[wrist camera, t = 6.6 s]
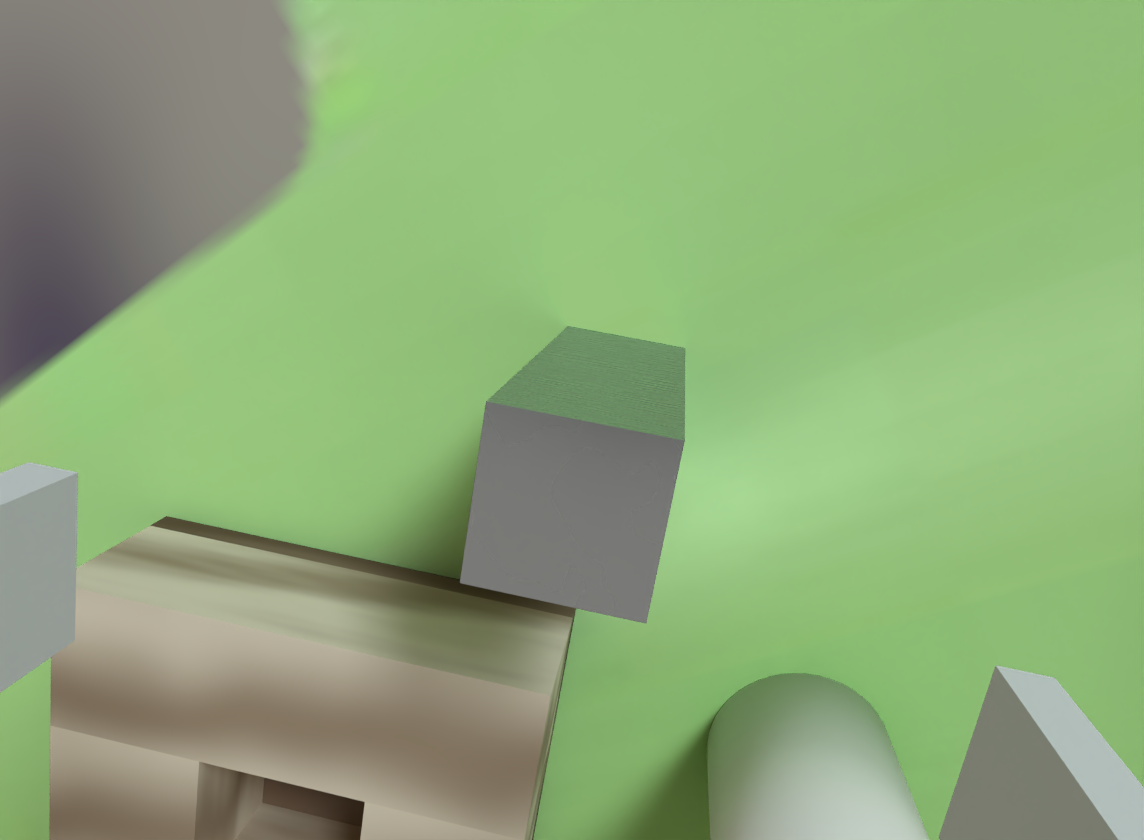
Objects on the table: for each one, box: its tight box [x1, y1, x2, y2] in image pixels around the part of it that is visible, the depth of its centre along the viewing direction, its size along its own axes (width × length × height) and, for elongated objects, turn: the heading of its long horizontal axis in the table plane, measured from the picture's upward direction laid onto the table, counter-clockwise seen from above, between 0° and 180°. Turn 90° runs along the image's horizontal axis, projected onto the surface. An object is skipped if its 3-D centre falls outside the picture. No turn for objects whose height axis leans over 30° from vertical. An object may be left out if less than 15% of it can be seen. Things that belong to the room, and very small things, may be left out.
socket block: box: [49, 516, 576, 840], centre depth 30 cm, size 16×16×6 cm
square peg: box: [460, 326, 685, 623], centre depth 23 cm, size 4×4×12 cm
